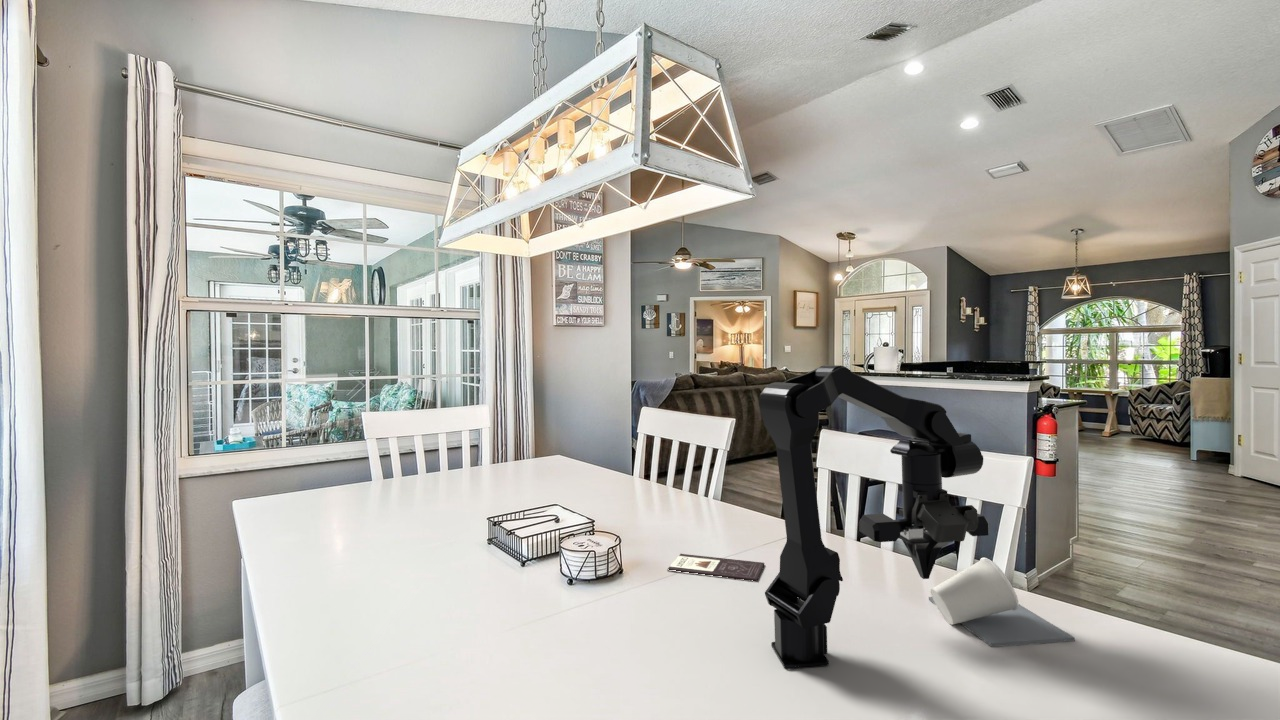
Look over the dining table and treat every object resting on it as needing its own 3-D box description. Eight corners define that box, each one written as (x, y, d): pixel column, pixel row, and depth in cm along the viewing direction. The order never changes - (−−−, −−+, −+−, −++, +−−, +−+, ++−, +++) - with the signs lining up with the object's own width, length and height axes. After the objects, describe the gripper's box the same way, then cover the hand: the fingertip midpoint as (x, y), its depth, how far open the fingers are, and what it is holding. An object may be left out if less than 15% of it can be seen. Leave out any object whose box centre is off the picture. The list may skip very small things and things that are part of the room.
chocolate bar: (756, 579, 110) (667, 568, 117) (756, 584, 110) (667, 573, 117) (764, 562, 119) (680, 553, 125) (764, 567, 119) (680, 558, 125)
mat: (991, 646, 85) (991, 643, 85) (928, 599, 100) (928, 597, 100) (1074, 640, 85) (1074, 637, 85) (999, 595, 101) (999, 592, 101)
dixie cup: (959, 643, 91) (1018, 619, 91) (957, 616, 86) (1020, 591, 86) (926, 597, 98) (982, 575, 98) (924, 570, 93) (981, 546, 93)
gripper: (891, 497, 83) (894, 604, 83) (1013, 490, 84) (1016, 595, 85) (856, 479, 94) (859, 574, 94) (965, 473, 96) (967, 567, 96)
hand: (924, 578), depth 92 cm, fingers closed
